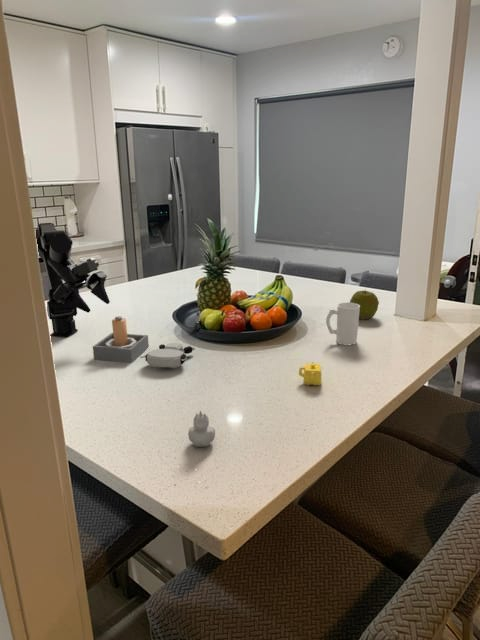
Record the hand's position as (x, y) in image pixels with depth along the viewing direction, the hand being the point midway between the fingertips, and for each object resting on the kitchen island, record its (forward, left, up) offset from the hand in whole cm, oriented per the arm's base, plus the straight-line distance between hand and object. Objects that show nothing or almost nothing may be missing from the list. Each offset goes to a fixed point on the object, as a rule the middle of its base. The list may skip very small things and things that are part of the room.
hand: (99, 307), depth 144 cm
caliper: (+22, +33, -14) cm, 42 cm away
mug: (+71, +21, -14) cm, 75 cm away
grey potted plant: (+45, -43, -14) cm, 63 cm away
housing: (+7, -2, -14) cm, 15 cm away
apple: (+78, +47, -14) cm, 92 cm away
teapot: (+64, -10, -14) cm, 66 cm away
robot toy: (+23, -5, -14) cm, 28 cm away
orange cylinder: (+7, -2, -13) cm, 14 cm away
